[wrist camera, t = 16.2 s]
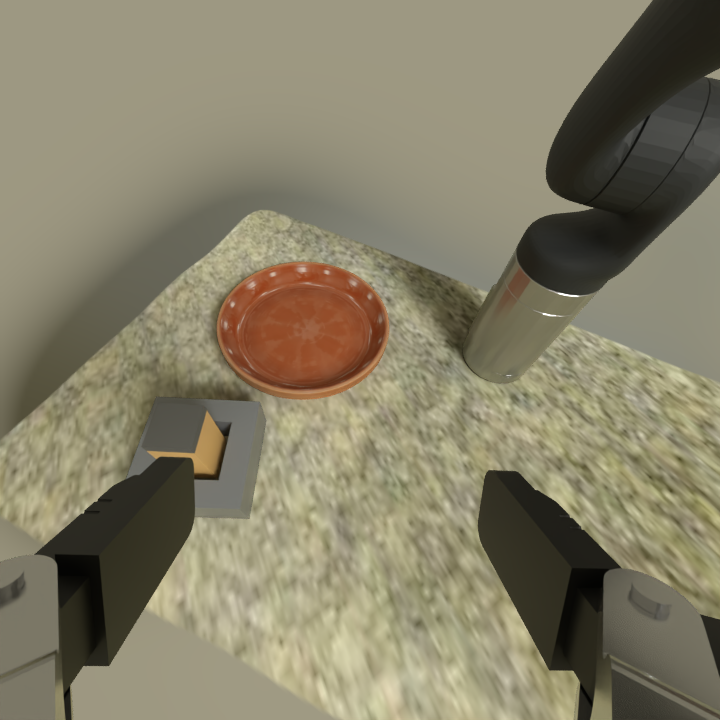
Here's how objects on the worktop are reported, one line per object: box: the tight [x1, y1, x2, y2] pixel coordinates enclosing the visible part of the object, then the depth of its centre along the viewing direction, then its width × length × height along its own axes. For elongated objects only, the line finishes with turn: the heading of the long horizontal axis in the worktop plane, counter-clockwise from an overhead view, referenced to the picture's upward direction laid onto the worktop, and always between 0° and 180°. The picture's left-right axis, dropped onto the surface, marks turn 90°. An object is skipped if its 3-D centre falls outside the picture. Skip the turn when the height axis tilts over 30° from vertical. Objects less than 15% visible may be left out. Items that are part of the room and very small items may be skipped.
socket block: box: [126, 397, 266, 519], centre depth 38 cm, size 11×11×5 cm
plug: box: [141, 403, 227, 480], centre depth 35 cm, size 4×4×10 cm
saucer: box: [217, 262, 389, 399], centre depth 49 cm, size 23×23×4 cm
